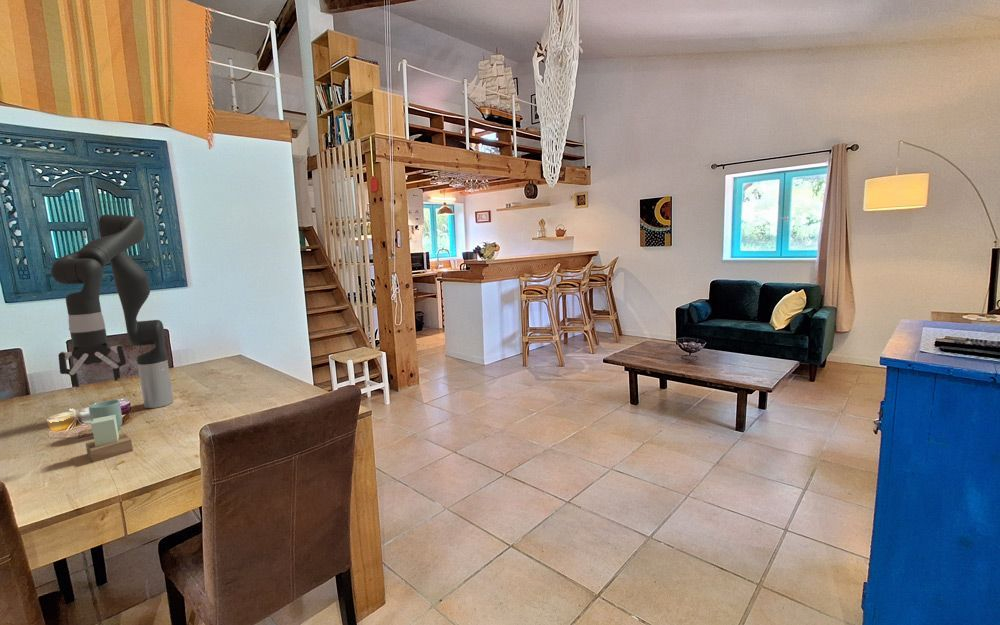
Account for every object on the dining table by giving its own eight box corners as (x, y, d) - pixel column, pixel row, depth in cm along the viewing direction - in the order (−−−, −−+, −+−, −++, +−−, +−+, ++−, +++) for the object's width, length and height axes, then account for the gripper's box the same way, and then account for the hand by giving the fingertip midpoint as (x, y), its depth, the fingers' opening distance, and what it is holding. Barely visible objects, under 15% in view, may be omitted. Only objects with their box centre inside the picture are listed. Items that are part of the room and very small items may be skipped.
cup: (122, 425, 157) (118, 397, 155) (125, 431, 151) (120, 403, 150) (92, 432, 151) (87, 404, 150) (94, 439, 146) (89, 409, 144)
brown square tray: (87, 455, 135) (85, 442, 134) (125, 444, 142) (123, 432, 141) (93, 463, 129) (91, 450, 129) (133, 452, 136) (131, 439, 135)
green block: (97, 441, 135) (93, 418, 134) (119, 436, 138) (115, 414, 137) (95, 446, 131) (91, 423, 130) (117, 441, 134) (113, 419, 133)
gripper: (120, 323, 137) (128, 375, 139) (55, 330, 128) (65, 385, 131) (119, 327, 131) (128, 381, 133) (51, 334, 122) (62, 392, 125)
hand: (97, 383), depth 132 cm, fingers open, 8 cm apart
